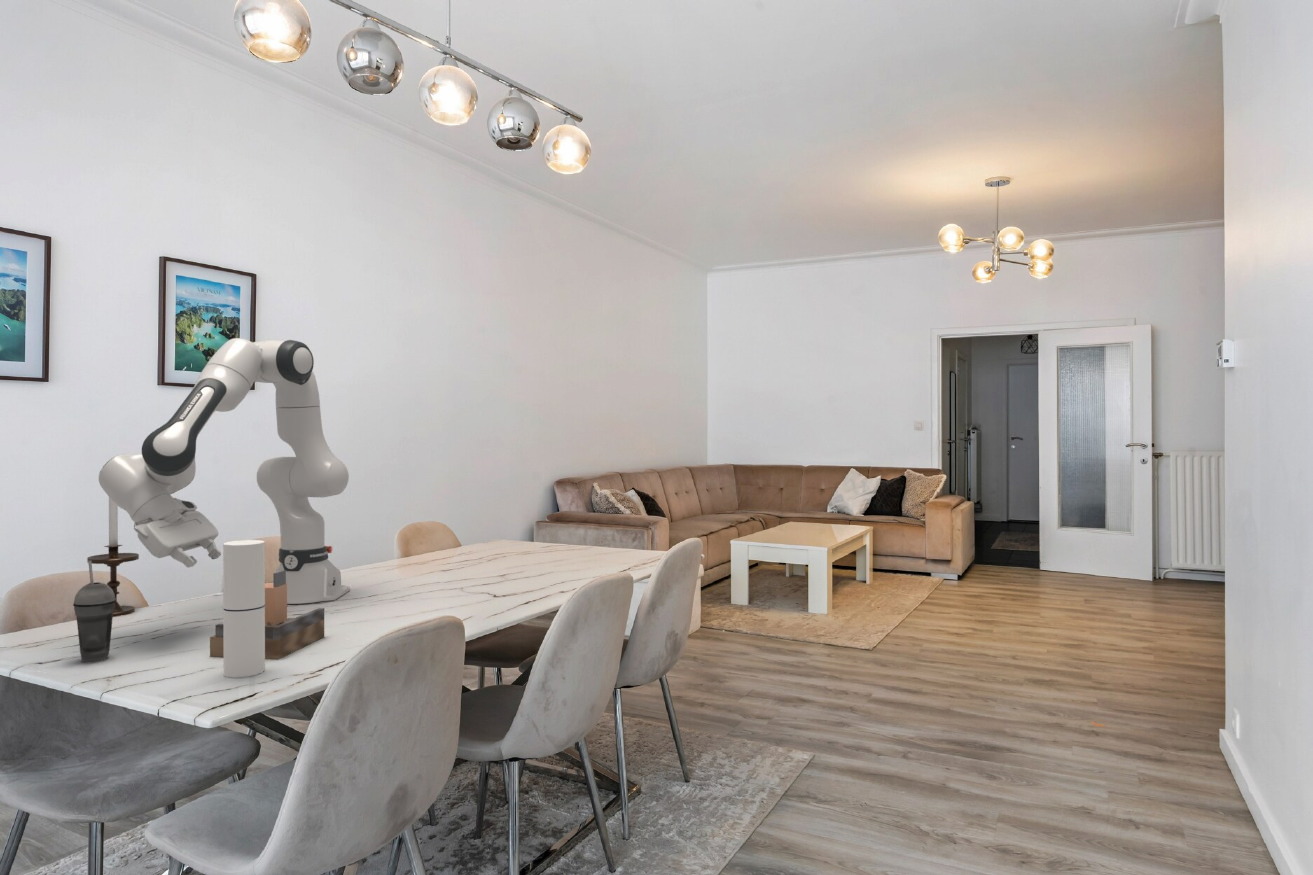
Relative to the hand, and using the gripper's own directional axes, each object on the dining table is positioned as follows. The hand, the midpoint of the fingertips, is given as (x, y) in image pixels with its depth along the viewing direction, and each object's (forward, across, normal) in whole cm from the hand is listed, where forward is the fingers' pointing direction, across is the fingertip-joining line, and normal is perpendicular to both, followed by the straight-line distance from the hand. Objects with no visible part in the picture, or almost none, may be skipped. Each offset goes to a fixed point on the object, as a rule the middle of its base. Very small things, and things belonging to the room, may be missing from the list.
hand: (205, 560), depth 180 cm
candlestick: (-14, +25, +40) cm, 49 cm away
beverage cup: (+2, -15, +22) cm, 27 cm away
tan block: (+21, -4, -2) cm, 21 cm away
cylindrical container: (+27, -23, -2) cm, 35 cm away
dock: (+24, -4, +1) cm, 24 cm away
